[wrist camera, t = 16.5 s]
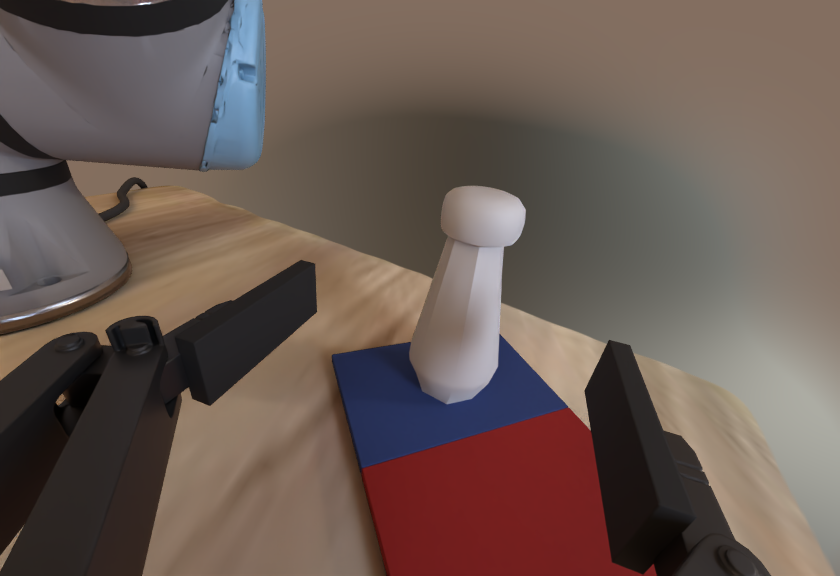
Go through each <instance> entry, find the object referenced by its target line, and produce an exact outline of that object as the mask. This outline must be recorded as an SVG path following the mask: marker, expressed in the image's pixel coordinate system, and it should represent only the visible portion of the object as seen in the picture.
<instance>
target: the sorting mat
mask: <svg viewBox="0 0 840 576" xmlns="http://www.w3.org/2000/svg"><path fill="white" fill-rule="evenodd" d="M410 346H411V342H408V343H402V344H396V345H389V346H383V347H377V348H371V349H364V350H358V351H352V352H346V353H340V354H333V355H332V363H333V367H334V371H335V375H336V378H337V382H338V386H339V390H340V394H341V398H342V402H343V406H344V410H345V414H346V418H347V421H348V425H349V429H350V433H351V437H352V441H353V445H354V449H355V453H356V457H357V460H358V464H359V468H360V472H361V476H362V480H363V484H364V488H365V492H366V496H367V499H368V503H369V507H370V511H371V515H372V519H373V523H374V527H375V531H376V535H377V539H378V542H379V546H380V550H381V554H382V558H383V562H384V566H385V570H386V574H387V576H657V575H656V571H655V567H654V564H653V565H652V566H651V567H650V568H649V569H648V570H647V571H646V572H645V573H644V574H640V573H638V572H635V571H633V570H630V569H627V568H625V567H622V566H620V565H617V564H615V563H612V559H611V553H610V547H609V541H608V534H607V528H606V522H605V515H604V509H603V503H602V497H601V490H600V484H599V478H598V472H597V465H596V459H595V453H594V447H593V440H592V434H591V431H590V430H589V429H588V427H587V426H586V425H585V424H584V423H583V422H582V421H581V420H580V419H579V418H578V417H577V416H576V415H575V414H574V413H573V411H572V410H571V409H570V408H568V406H567V405H566V404H565V403H564V402H563V401H562V400H561V399H560V398H559V397H558V395H557V394H556V393H555V392H554V391H553V390H552V389H551V388H550V387H549V386H548V385H547V384H546V383H545V382H544V381H543V379H542V378H541V377H540V376H539V375H538V374H537V373H536V372H535V371H534V370H533V369H532V368H531V367H530V366H529V365H528V363H527V362H526V361H525V360H524V359H523V358H522V357H521V356H520V355H519V354H518V353H517V352H516V351H515V350H514V349H513V348H512V346H511V345H510V344H509V343H508V342H507V341H506V340H505V339H504V338H503V337H502V336H501V335H500V334H499V353H498V367H497V369H496V371H495V373H494V374H493V376H492V378H491V380H490V381H489V383H488V384H487V385H486V386H485V387H484V388H483V389H482V390H481V391H480V392H479V393H478V394H476V395H475V396H474V397H473V398H472V399H469V400H464V401H460V402H455V403H451V404H445V403H443V402H441V401H440V400H438V399H436V398H434V397H432V396H430V395H428V394H426V393H425V392H423V391H422V389H421V386H420V383H419V380H418V377H417V374H416V372H415V370H414V368H413V365H412V363H411V361H410V358H409V352H410Z"/></svg>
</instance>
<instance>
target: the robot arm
mask: <svg viewBox="0 0 840 576" xmlns="http://www.w3.org/2000/svg"><path fill="white" fill-rule="evenodd" d="M262 5H263V4H262V0H0V334H4V333H9V332H13V331H17V330H21V329H25V328H29V327H32V326H36V325H39V324H43V323H46V322H49V321H52V320H55V319H58V318H61V317H64V316H67V315H69V314H72V313H75V312H77V311H79V310H82V309H84V308H86V307H89V306H91V305H93V304H95V303H97V302H99V301H101V300H103V299H104V298H106V297H108V296H109V295H111V294H112V293H114V292H115V291H117V290H118V289H119V288H121V287H122V286H123V285H124V284H125V283H126V282H127V281H128V279H129V278H130V276H131V274H132V265H131V262H130V259H129V256H128V253H127V252H126V250H125V248H124V246H123V244H122V243H121V241H120V240H119V239H118V238H117V236H116V235H115V234H114V233H113V232H112V230H111V229H110V228H109V227H108V226H107V224H106V223H105V222H104V221H106V220H109V219H111V218H113V217H115V216H117V215H119V214H120V213H122V212H123V211H125V210H126V209H127V208H128V207H129V199H128V198H127V196H126V194H127V193H128V191H129V190H130V188H131V187H132V186H133V185H134V184H138V185H139V187H140V188H141V189H143V188H148V187H147V185H146V184H145V182H143V181H142V180H141V179H139V178H135V177H134V178H130V179H128V180H127V181H126V182H125V183H124V184H123V185H122V186H121V187H120V189H119V190H118V191H117V197H118V199H119V200H120V203H119V204H118V205H116V206H115V207H113V208H111V209H109V210H107V211H104V212H102V213H99V214H98V213H97V212H96V211H95V210H94V208H93V207H92V206H91V205H90V204H89V202H88V201H87V200H86V199H85V197H84V196H83V195H82V194H81V193H80V191H79V190H78V189H77V187H76V185H75V183H74V181H73V178H72V176H71V173H70V170H69V167H68V165H67V162H66V160H73V161H85V162H98V163H111V164H123V165H136V166H149V167H163V168H175V169H188V170H199V171H202V172H206V171H208V170H243V169H246V168H249V167H251V166H252V165H254V164H255V163H256V162H257V161H258V159H259V158H260V156H261V152H262V145H263V136H264V120H265V87H266V85H265V84H266V82H265V81H266V65H265V64H266V52H265V51H266V50H265V22H264V14H263V9H262ZM316 312H317V301H316V274H315V264H314V263H311V262H307V261H303V260H300V261H299V262H297V263H295V264H294V265H292V266H290V267H289V268H287V269H285V270H284V271H282V272H280V273H279V274H277V275H275V276H274V277H272V278H270V279H269V280H267V281H265V282H264V283H262V284H260V285H259V286H257V287H256V288H254V289H252V290H251V291H249V292H247V293H246V294H244V295H242V296H241V297H239V298H237V299H236V300H234V301H232V300H230V301H227V302H224V303H221V304H218V305H215V306H214V307H212V308H210V309H209V310H207V311H205V313H202V314H200V315H198V316H197V317H196V318H195V319H194V318H193V319H191V320H190V321H188V322H186V323H185V324H183V325H181V326H179V327H178V328H176V329H174V330H173V331H171V332H169V333H168V334H166V335H164V336H162V333H161V330H160V326H159V323H158V320H156V319H155V318H154V317H150V316H135V317H130V318H126V319H123V320H120V321H118V322H116V323H114V324H112V325H110V326H109V327H108V328H107V329H106V330H105V331H106V333H107V336H108V338H109V341H110V343H111V345H112V346H105V345H101V344H100V342H99V340H98V337H97V335H95V334H93V333H90V332H77V333H70V334H66V335H63V336H61V337H58V338H56V339H53V340H52V341H50V342H49V343H47V344H45V345H44V346H43V347H42V348H40V349H39V350H38V351H37V352H35V353H34V354H33V355H32V356H31V357H29V358H28V359H27V360H26V361H24V362H23V363H22V364H21V365H19V366H18V367H17V368H16V369H14V370H13V371H12V372H11V373H9V374H8V375H7V376H6V377H4V378H3V379H2V380H1V381H0V555H1V554H2V553H3V551H4V550H5V549H6V547H7V546H8V545H9V544H10V542H11V541H12V540H13V538H14V537H15V536H16V535H17V533H18V532H19V531H20V529H21V528H22V527H23V526H24V527H23V529H22V531H21V533H20V534H19V536H18V538H17V540H16V542H15V544H14V546H13V548H12V550H11V552H10V554H9V556H8V558H7V560H6V562H5V563H4V565H3V567H2V569H1V571H0V576H142V574H143V569H144V565H145V560H146V556H147V552H148V547H149V543H150V538H151V534H152V530H153V525H154V521H155V517H156V512H157V508H158V503H159V499H160V495H161V490H162V486H163V481H164V477H165V473H166V468H167V464H168V459H169V455H170V451H171V446H172V442H173V438H174V433H175V429H176V424H177V420H178V416H179V411H180V407H181V402H182V397H181V392H183V391H184V390H185V389H186V388H188V387H189V389H190V392H191V396H192V399H194V400H197V401H199V402H202V403H204V404H207V405H209V406H211V405H212V404H213V403H214V402H215V401H216V400H217V399H218V398H220V397H221V396H222V395H223V394H224V393H225V392H226V391H228V390H229V389H230V388H231V387H232V386H233V385H234V384H236V383H237V382H238V381H239V380H240V379H241V378H242V377H244V376H245V375H246V374H247V373H248V372H249V371H250V370H252V369H253V368H254V367H255V366H256V365H257V364H258V363H259V362H261V361H262V360H263V359H264V358H265V357H266V356H267V355H269V354H270V353H271V352H272V351H273V350H274V349H275V348H277V347H278V346H279V345H280V344H281V343H282V342H283V341H285V340H286V339H287V338H288V337H289V336H290V335H291V334H293V333H294V332H295V331H296V330H297V329H298V328H299V327H300V326H302V325H303V324H304V323H305V322H306V321H307V320H308V319H310V318H311V317H312V316H313V315H314V314H315V313H316ZM62 393H63V395H64V397H65V400H64V401H63V402H62V403H61V404H60V405H59V406H58V405H57V404H56V403H55V402H56V401H57V399H58V398H59V396H60V395H61V394H62ZM585 396H586V403H587V409H588V415H589V421H590V428H591V434H592V440H593V447H594V453H595V459H596V465H597V472H598V478H599V484H600V490H601V497H602V503H603V509H604V515H605V522H606V528H607V534H608V541H609V547H610V553H611V559H612V563H615V564H617V565H620V566H622V567H625V568H627V569H630V570H633V571H635V572H638V573H640V574H644V573H645V572H646V571H647V570H648V569H649V568H650V567H651V566H652V565H653V564H654V567H655V571H656V575H657V576H771V575H770V574H769V572H768V571H767V569H766V568H765V567H764V565H763V564H762V562H761V561H760V560H759V559H758V558H757V557H756V556H755V555H754V554H753V553H752V552H751V551H750V550H749V549H747V548H746V547H744V546H743V545H741V544H740V543H739V542H737V541H736V540H735V538H734V536H733V534H732V532H731V530H730V527H729V525H728V523H727V521H726V519H725V517H724V514H723V512H722V510H721V508H720V506H719V503H718V501H717V499H716V497H715V495H714V493H713V490H712V488H711V486H709V482H708V479H707V477H706V475H705V473H704V472H702V466H701V464H700V462H699V460H698V458H697V455H696V453H695V452H694V451H693V449H692V448H691V447H690V446H689V445H688V443H687V442H686V441H685V440H684V439H683V438H682V436H680V435H676V434H673V433H670V432H666V431H663V429H662V426H661V424H660V421H659V419H658V416H657V413H656V411H655V408H654V406H653V403H652V401H651V398H650V395H649V393H648V390H647V388H646V385H645V383H644V380H643V377H642V375H641V372H640V370H639V367H638V364H637V362H636V359H635V357H634V354H633V352H632V349H631V346H630V345H627V344H623V343H619V342H615V341H611V340H609V341H608V343H607V345H606V347H605V349H604V352H603V354H602V356H601V358H600V360H599V362H598V364H597V366H596V368H595V370H594V372H593V374H592V376H591V378H590V380H589V383H588V385H587V387H586V389H585ZM24 524H25V525H24Z"/></svg>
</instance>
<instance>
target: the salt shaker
mask: <svg viewBox="0 0 840 576" xmlns="http://www.w3.org/2000/svg"><path fill="white" fill-rule="evenodd" d="M525 212H526V210H525V208H524V206H523V205H522V203H521V202H520V200H519V198H517V197H515V196H513V195H511V194H509V193H507V192H505V191H501V190H498V189H494V188H489V187H482V186H463V187H458V188H454V189H452V190H451V191H450V192H449V193H447V194H446V197H445V200H444V203H443V206H442V214H441V229H442V231H444V232H445V233H446V234H447V235H448V238H447V241H446V243H445V246H444V249H443V252H442V255H441V258H440V260H439V263H438V266H437V269H436V272H435V275H434V278H433V280H432V283H431V286H430V289H429V292H428V295H427V298H426V300H425V303H424V306H423V309H422V312H421V315H420V318H419V320H418V323H417V326H416V329H415V332H414V335H413V338H412V340H411V346H410V352H409V358H410V361H411V363H412V365H413V368H414V370H415V372H416V374H417V377H418V380H419V383H420V386H421V389H422V391H423V392H425V393H426V394H428V395H430V396H432V397H434V398H436V399H438V400H440V401H441V402H443V403H445V404H451V403H455V402H460V401H464V400H469V399H472V398H473V397H474V396H475V395H476V394H478V393H479V392H480V391H481V390H482V389H483V388H484V387H485V386H486V385H487V384H488V383H489V381H490V380H491V378H492V376H493V374H494V373H495V371H496V369H497V367H498V353H499V330H500V306H501V282H502V264H503V250H504V246H509V245H512V244H513V243H514V242H515V241H516V240H517V239H518V238H519V236H520V235H521V232H522V229H523V226H524V223H525Z"/></svg>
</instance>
